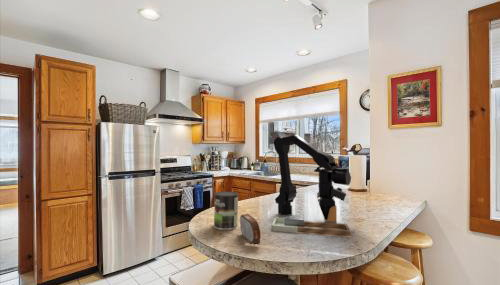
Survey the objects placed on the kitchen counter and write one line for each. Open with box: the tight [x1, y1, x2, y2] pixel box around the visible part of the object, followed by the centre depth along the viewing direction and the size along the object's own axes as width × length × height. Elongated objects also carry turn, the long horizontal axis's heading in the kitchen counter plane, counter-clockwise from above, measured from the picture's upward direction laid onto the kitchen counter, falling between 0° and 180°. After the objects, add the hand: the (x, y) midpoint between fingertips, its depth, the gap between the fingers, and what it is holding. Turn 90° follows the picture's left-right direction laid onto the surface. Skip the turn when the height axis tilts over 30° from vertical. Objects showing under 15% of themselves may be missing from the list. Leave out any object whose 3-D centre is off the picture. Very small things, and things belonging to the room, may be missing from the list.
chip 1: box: [284, 215, 296, 226], centre depth 98 cm, size 4×4×4 cm
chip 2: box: [294, 216, 305, 227], centre depth 97 cm, size 4×4×4 cm
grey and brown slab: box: [239, 213, 261, 245], centre depth 87 cm, size 15×3×8 cm, turn 21°
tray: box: [270, 216, 299, 234], centre depth 99 cm, size 10×12×3 cm
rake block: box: [324, 204, 338, 223], centre depth 104 cm, size 5×5×8 cm
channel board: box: [297, 220, 352, 238], centre depth 95 cm, size 20×12×2 cm, turn 77°
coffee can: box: [213, 191, 239, 231], centre depth 101 cm, size 10×10×14 cm
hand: (325, 217), depth 105 cm, fingers open, 5 cm apart
